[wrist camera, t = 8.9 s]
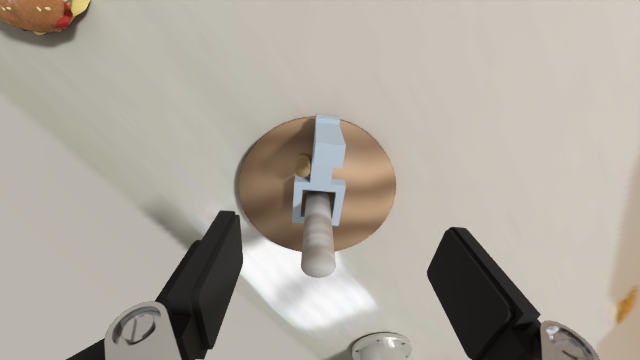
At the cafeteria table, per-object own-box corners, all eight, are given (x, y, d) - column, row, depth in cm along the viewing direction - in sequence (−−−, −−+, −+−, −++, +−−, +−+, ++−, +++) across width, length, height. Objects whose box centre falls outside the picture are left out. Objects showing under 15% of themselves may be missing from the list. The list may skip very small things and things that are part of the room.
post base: (401, 230, 34) (440, 311, 23) (274, 258, 36) (257, 343, 26) (380, 93, 25) (429, 124, 14) (212, 143, 27) (145, 201, 16)
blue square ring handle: (337, 218, 31) (343, 263, 24) (293, 215, 31) (286, 259, 24) (355, 118, 24) (369, 141, 18) (299, 112, 24) (292, 134, 18)
